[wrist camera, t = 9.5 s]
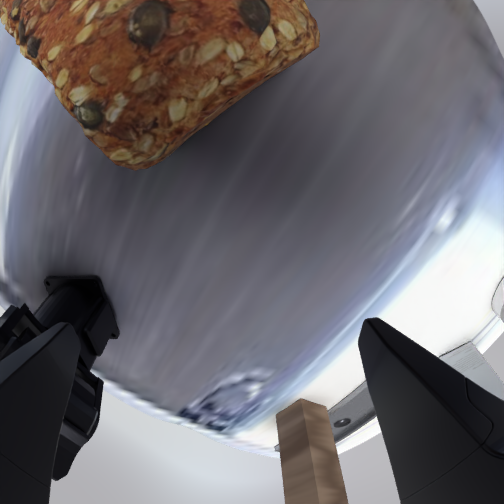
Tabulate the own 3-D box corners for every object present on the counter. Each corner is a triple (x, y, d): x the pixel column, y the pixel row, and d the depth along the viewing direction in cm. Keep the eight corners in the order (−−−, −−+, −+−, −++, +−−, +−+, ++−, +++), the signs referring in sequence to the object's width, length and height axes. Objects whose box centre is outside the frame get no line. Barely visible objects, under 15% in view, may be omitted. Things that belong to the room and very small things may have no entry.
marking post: (275, 415, 29) (288, 533, 15) (300, 398, 28) (323, 526, 14) (301, 422, 31) (318, 530, 16) (326, 406, 29) (351, 521, 15)
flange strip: (309, 450, 36) (310, 457, 35) (274, 446, 34) (275, 454, 33) (415, 373, 28) (419, 381, 27) (384, 363, 26) (388, 372, 25)
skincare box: (431, 375, 29) (466, 442, 18) (439, 354, 27) (481, 426, 16) (464, 358, 28) (501, 419, 17) (472, 337, 26) (516, 400, 15)
